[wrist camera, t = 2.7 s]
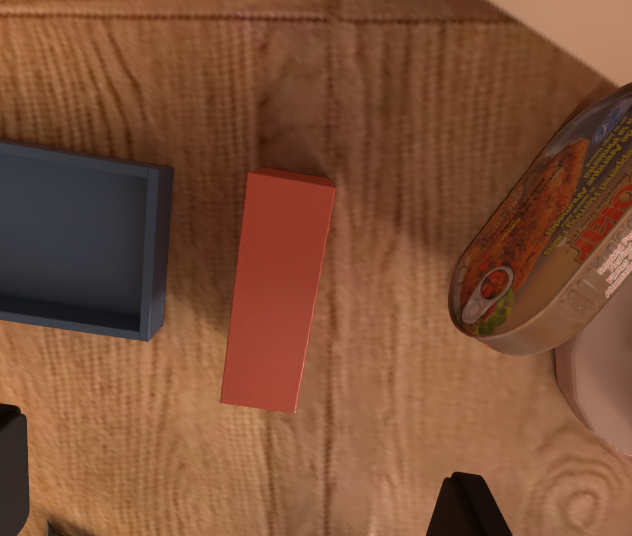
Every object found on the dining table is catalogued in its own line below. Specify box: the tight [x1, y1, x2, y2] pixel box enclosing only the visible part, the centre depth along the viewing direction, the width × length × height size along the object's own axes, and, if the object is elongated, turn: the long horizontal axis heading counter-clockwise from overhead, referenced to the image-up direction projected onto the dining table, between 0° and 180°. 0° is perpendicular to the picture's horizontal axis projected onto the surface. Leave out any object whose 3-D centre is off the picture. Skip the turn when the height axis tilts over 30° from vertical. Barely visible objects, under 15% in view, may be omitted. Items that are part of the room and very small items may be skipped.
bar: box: [220, 167, 336, 413], centre depth 22 cm, size 4×12×6 cm, turn 170°
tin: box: [448, 82, 632, 356], centre depth 20 cm, size 15×3×8 cm, turn 147°
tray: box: [0, 138, 174, 342], centre depth 23 cm, size 16×10×2 cm, turn 80°
